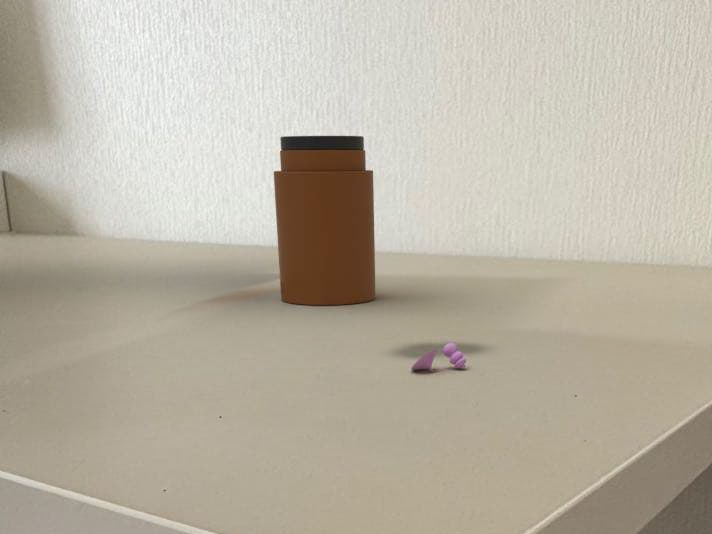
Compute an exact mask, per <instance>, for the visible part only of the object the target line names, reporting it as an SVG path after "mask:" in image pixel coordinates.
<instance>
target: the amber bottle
mask: <svg viewBox="0 0 712 534" xmlns="http://www.w3.org/2000/svg"><path fill="white" fill-rule="evenodd" d="M279 161H280V170H274V171H273V185H274V186H273V187H274V201H275V219H276V235H277V251H278V266H279V267H278V269H279V283H280V286H279V287H280V298H281V301H283V302H284V303H289V304H293V305H301V306H345V305H355V304H363V303H367V302H370V301H373V300H375V299H376V298H377V297H376V247H375V196H374V195H375V193H374V170H371V169H367V167H366V166H367V165H366V164H367V163H366V161H367V160H366V150H365V138H364V136H362V135H291V136H290V135H286V136H280V150H279Z"/></svg>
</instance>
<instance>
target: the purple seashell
mask: <svg viewBox="0 0 712 534" xmlns="http://www.w3.org/2000/svg"><path fill="white" fill-rule="evenodd" d="M437 352H438V349H437V348H435V349H433V350H431V351H429V352H427V353H426V354H424V355H423V356H422V357H420V358H419V359H418V360H417V361H416V362H415V363H413V365H412V366H411V368H410V370H411V371H415V370H416V371H417V370H427V369H428V370H429V371H430V372H432V373H433V371H434V368H433V367H432V365H433V362H434V360H435V358H436V354H437ZM442 353H443V355H444V356H445V357H447V358H448V359H449V363H450V364H451V365H453V367H454V369H461V370H464V369H465V368H466V365H465V364H466V362H467V358H466V357H464V353H463V352H462V351H459V349H458V345H457V344H456V343H455V342H447V344H445V345H444V346H443V348H442Z"/></svg>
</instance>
